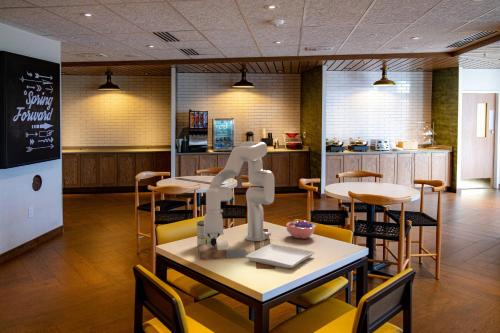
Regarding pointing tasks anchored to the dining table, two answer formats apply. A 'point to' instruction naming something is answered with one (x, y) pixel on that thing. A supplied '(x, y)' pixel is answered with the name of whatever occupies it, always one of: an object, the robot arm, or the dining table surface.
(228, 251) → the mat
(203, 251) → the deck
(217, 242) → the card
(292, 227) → the cell model
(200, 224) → the coffee can
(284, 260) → the square plate
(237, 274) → the dining table surface
